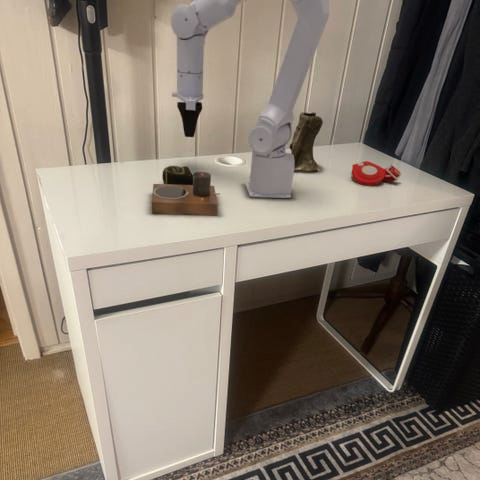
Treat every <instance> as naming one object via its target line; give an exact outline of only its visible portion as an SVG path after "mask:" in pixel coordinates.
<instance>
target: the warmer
mask: <svg viewBox="0 0 480 480" xmlns="http://www.w3.org/2000/svg"><path fill="white" fill-rule="evenodd" d="M162 186H177V187H181V188H184V189H186V190H187V191H188V195H187V196H186V197H184V198H180V199H163V198H160V197H157V196H155V195H154V190H155V189H156V188H158V187H162ZM151 194H152V195H151V214H154V215H191V216H192V215H193V216H197V215H198V216H218V205H219V204H218V198H217V195H219V196H220V195H221V193H220V192H218V193H217V192H216V187H215V185H210V195H209V196H206V197H199V196H195V195H194V194H193V185H174V184H165V183H153V185H152V193H151Z"/></svg>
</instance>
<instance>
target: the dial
mask: <svg viewBox="0 0 480 480" xmlns="http://www.w3.org/2000/svg"><path fill="white" fill-rule="evenodd" d="M192 174H193V194H194V195H195V196H199V197H206V196H209V195H210V186H212V185H211V182H212V174H211V173H210V172H208V171H207V172H206V171H195V172H192Z"/></svg>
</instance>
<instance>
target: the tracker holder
mask: <svg viewBox="0 0 480 480" xmlns="http://www.w3.org/2000/svg"><path fill="white" fill-rule="evenodd" d="M351 168H352V169H351V177H352V179H353V181H354V182H356V183H357V184H359V185H363V186H375V185H378V184H380V183H382V182H388V183H389V182H391V183H393V182H395V181H396V182H397V181H398V180H399V179H400V177H402V174H403V173H402V172H401V171H400V170H399V169H397V168H396V166H395V165H393V164H392V163H390V164H389V166H388V167H386V168H383V167H381V166H380V165H378V164H376V163H374V162H371V161H367V160H365V161H361V162H357V163H354V164H352V166H351Z"/></svg>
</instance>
